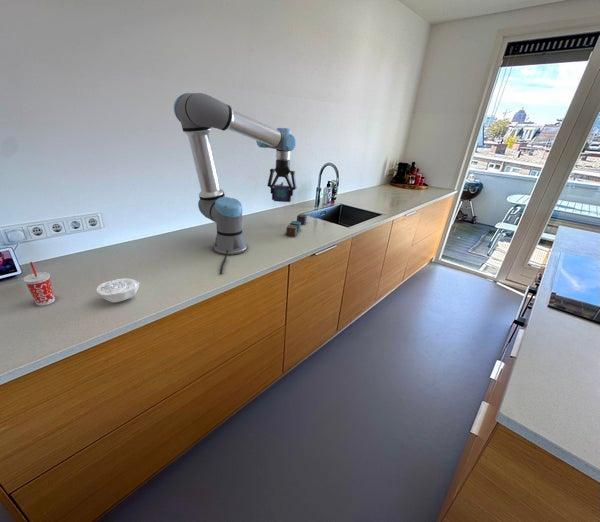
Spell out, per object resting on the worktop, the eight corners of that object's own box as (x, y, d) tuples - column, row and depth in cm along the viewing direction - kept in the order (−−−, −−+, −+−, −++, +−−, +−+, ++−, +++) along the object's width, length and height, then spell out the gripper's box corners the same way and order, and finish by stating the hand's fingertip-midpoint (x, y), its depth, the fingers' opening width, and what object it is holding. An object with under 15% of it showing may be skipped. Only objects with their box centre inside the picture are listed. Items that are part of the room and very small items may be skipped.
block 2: (294, 237, 157) (295, 228, 155) (285, 235, 158) (286, 227, 156) (297, 234, 161) (297, 225, 159) (288, 232, 162) (289, 224, 160)
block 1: (298, 232, 163) (298, 224, 161) (289, 231, 164) (290, 223, 162) (300, 230, 168) (300, 221, 166) (292, 228, 169) (292, 220, 167)
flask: (289, 201, 166) (290, 182, 162) (289, 202, 164) (290, 183, 159) (273, 200, 166) (274, 181, 162) (273, 201, 164) (273, 182, 159)
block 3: (304, 224, 177) (304, 217, 174) (296, 223, 178) (297, 216, 175) (306, 222, 181) (306, 214, 179) (298, 221, 182) (299, 213, 180)
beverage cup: (30, 308, 88) (13, 268, 82) (37, 297, 93) (21, 259, 87) (55, 305, 90) (40, 265, 84) (60, 294, 95) (47, 256, 89)
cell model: (138, 305, 93) (134, 287, 90) (95, 309, 89) (89, 291, 86) (144, 289, 101) (140, 272, 98) (105, 292, 98) (100, 275, 95)
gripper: (304, 160, 156) (301, 201, 166) (266, 156, 160) (265, 196, 170) (300, 161, 150) (298, 204, 159) (261, 158, 154) (261, 199, 163)
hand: (281, 200), depth 165 cm, fingers closed on flask, 9 cm apart
